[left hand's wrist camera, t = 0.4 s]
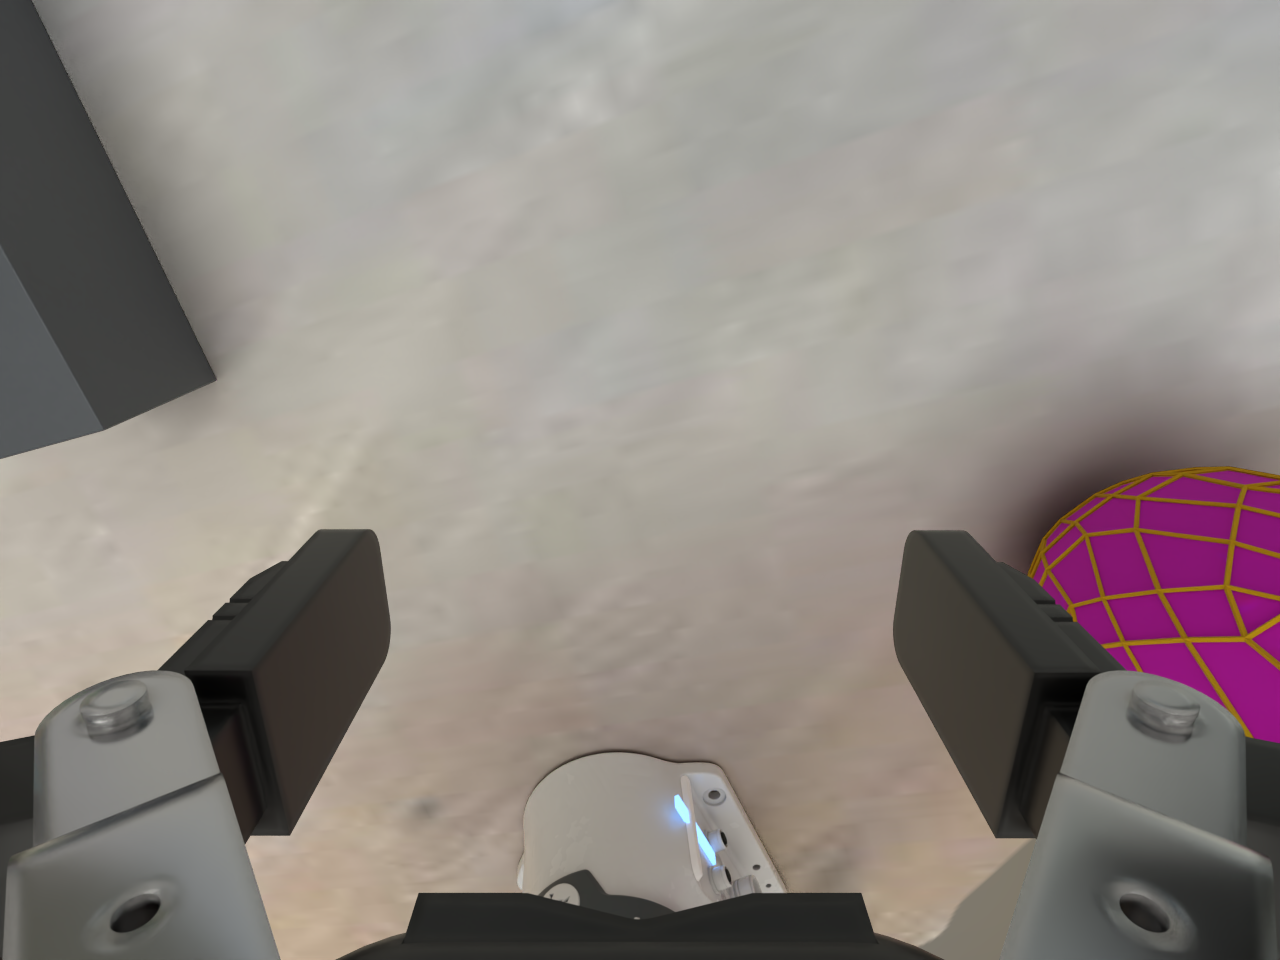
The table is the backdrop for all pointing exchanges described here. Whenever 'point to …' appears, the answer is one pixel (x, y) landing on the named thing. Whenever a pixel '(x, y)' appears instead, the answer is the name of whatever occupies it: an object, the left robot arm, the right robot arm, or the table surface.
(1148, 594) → the decorative egg
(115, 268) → the box
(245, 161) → the table surface
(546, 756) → the table surface
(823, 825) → the table surface
